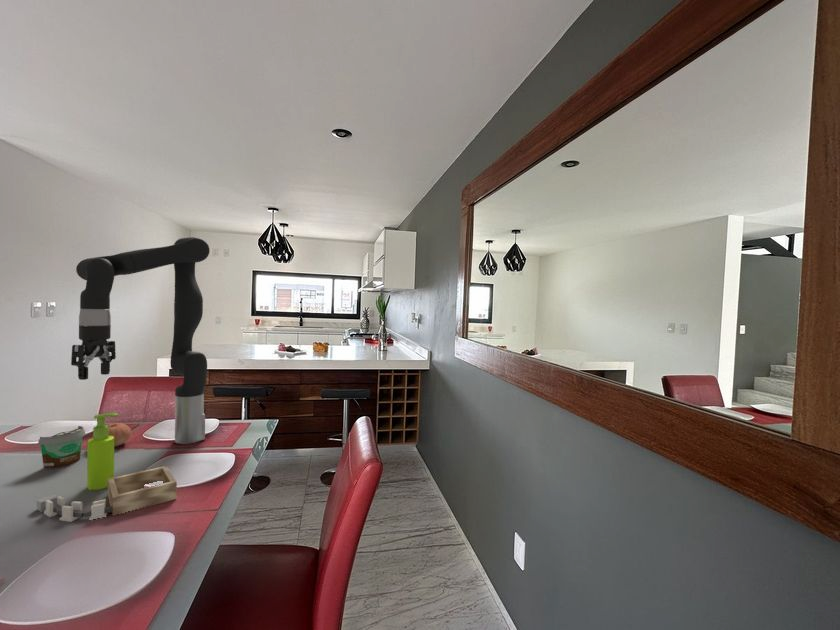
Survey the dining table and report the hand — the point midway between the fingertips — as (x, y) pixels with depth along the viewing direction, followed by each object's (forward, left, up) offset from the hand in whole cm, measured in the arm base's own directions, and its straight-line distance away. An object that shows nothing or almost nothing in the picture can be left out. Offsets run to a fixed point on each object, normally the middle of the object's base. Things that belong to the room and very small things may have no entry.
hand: (94, 376), depth 122 cm
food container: (+6, -10, -29) cm, 31 cm away
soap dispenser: (-1, +15, -29) cm, 32 cm away
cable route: (+5, +28, -28) cm, 41 cm away
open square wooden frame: (-8, +30, -28) cm, 42 cm away
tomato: (-6, -20, -29) cm, 35 cm away
